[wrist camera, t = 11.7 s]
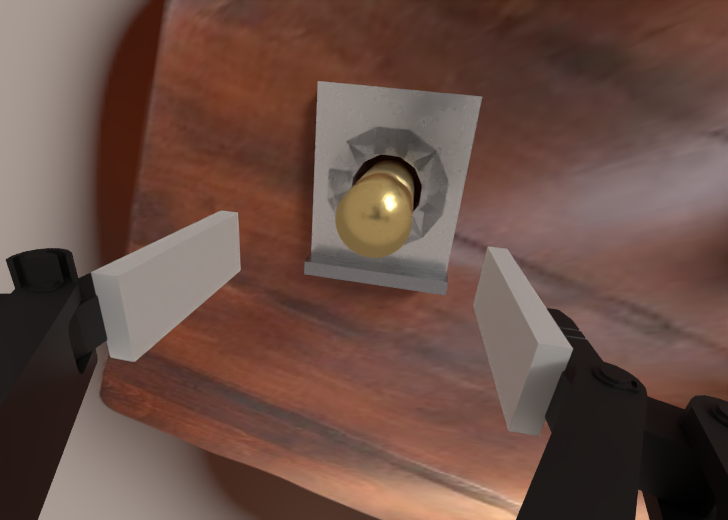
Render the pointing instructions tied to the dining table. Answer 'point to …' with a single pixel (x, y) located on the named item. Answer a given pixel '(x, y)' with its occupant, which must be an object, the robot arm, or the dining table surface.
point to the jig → (417, 147)
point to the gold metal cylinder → (377, 210)
